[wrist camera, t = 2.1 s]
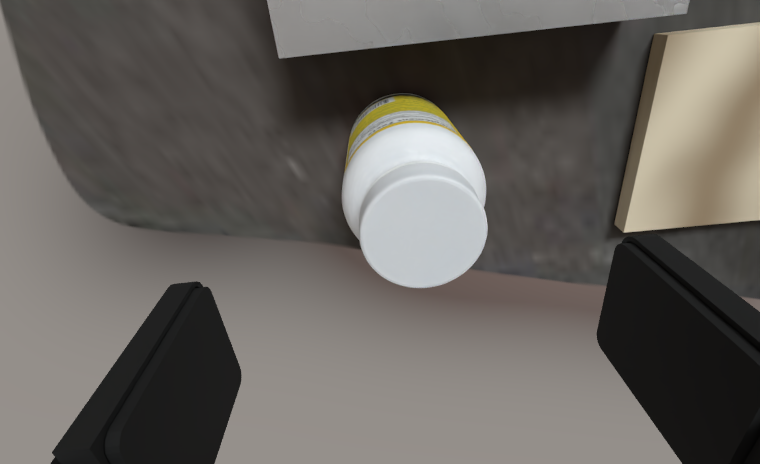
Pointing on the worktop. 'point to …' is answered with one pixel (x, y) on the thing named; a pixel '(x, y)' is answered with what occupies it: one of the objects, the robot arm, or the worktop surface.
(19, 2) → the worktop surface
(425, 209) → the supplement bottle
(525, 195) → the worktop surface
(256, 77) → the worktop surface
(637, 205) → the oak board
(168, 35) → the worktop surface
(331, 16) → the socket block
